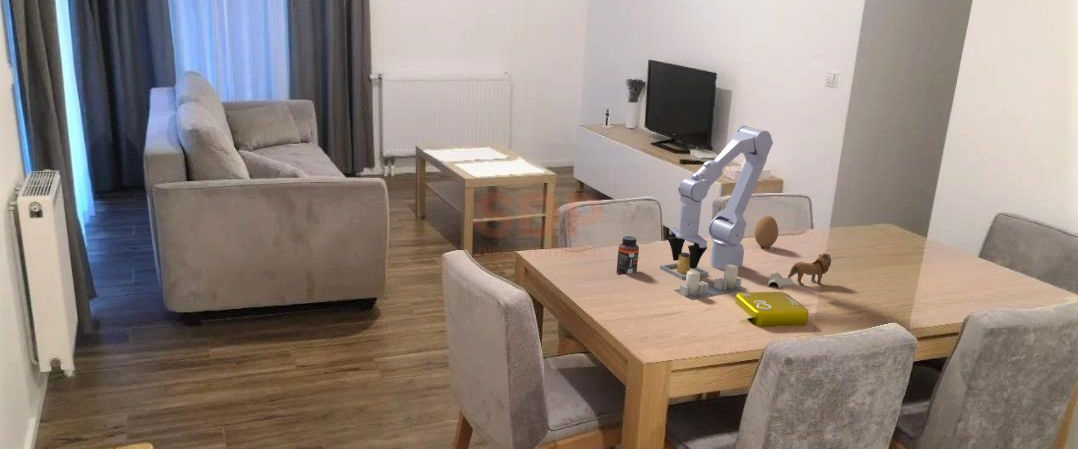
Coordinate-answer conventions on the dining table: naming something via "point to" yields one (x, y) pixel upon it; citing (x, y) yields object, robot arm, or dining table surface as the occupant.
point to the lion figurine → (812, 268)
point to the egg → (766, 231)
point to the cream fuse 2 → (731, 275)
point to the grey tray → (666, 269)
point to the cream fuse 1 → (692, 282)
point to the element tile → (772, 309)
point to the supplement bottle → (627, 256)
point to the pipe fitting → (780, 280)
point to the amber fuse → (683, 263)
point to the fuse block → (711, 289)
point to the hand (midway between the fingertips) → (684, 264)
